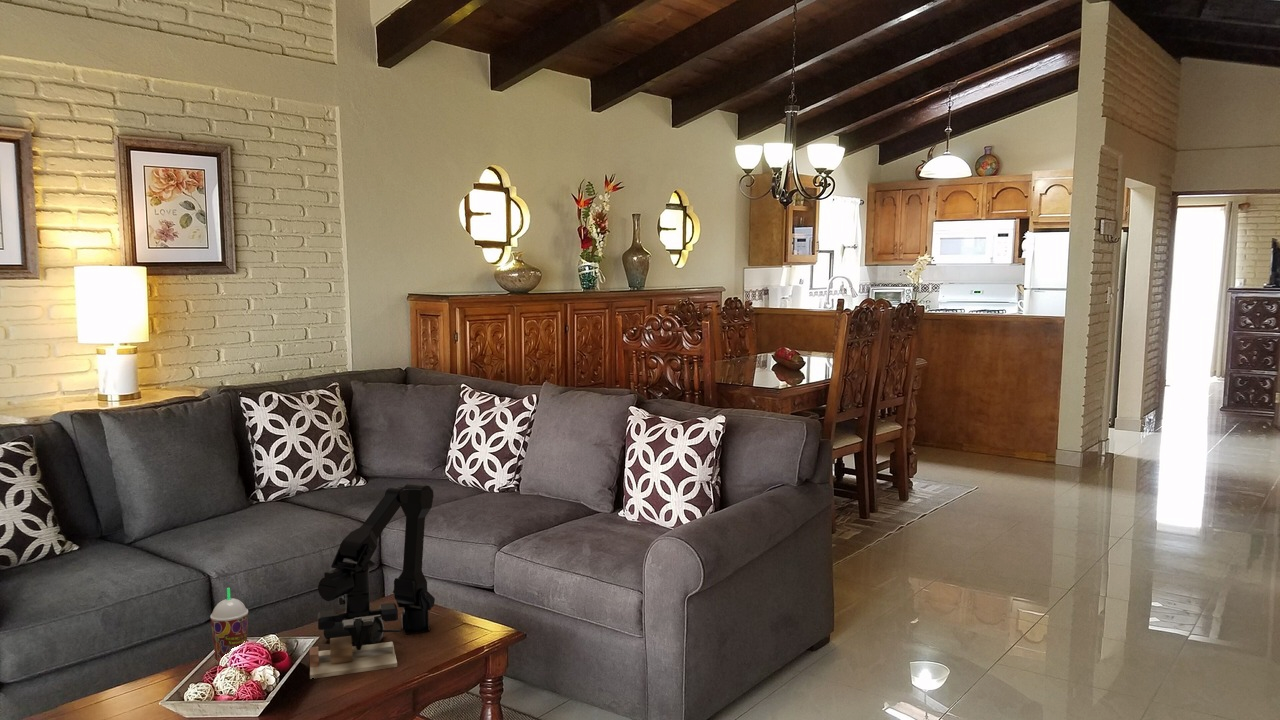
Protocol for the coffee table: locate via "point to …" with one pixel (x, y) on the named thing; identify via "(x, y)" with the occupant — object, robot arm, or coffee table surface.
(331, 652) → the block
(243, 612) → the smoothie
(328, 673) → the board
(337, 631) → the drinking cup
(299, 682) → the coffee table surface
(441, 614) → the coffee table surface
